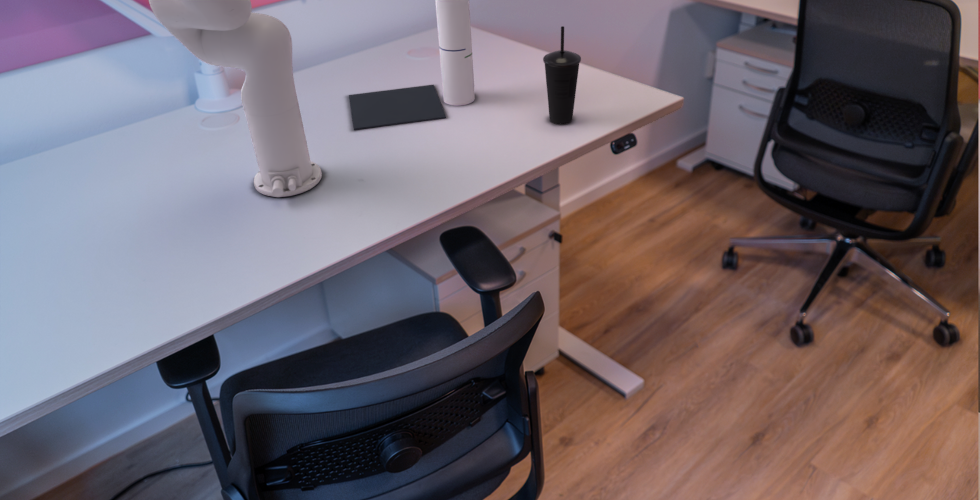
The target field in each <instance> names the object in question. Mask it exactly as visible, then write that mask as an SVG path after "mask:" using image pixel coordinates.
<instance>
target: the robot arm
mask: <svg viewBox="0 0 980 500" xmlns="http://www.w3.org/2000/svg"><path fill="white" fill-rule="evenodd" d="M148 3H149V6H150V9H151V11H152V13H153V15H154V16H155V18H156V19H157V21H158V22H159V23H160V24H161V25H162V26H163V27H164V28H165V29H166V30H167V31H168V32H169V33H170V34H171V35H172V36H173V37H174V38H175V39H176V40H177V41H178V42H179V43H181V45H182V46H183V47H184V48H185V49H186V50H188V52H190V53H191V54H192V55H193V56H194V57H195V58H196V59H198V60H200V61H201V62H202V63H205V64H207V65H210V66H213V67H219V68H227V69H235V70H239V71H242V72H244V74H245V77H244V81H243V84H242V86H241V89H240V100H241V105H242V108H243V109H242V110H243V112H244V116H245V120H246V123H247V127H248V132H249V135H250V139H251V143H252V147H253V150H254V155H255V159H256V162H257V166H258V170H259V171H258V172H257V173H256V174H255V175H254V177H253V185H254V188H255V190H256V191H257V192H258V193H260V194H262V195H264V196H268V197H273V198H282V197H285V198H286V197H292V196H295V195H299V194H303V193H305V192H307V191H309V190H311V189H313V188H314V187H315V186H317V185H318V184H319V182H321V179H322V177H323V173H322V169H321V166H320V165H319V164H318V163H316V162H314V161H312V160H311V156H310V152H309V147H308V143H307V142H308V141H307V138H306V133H305V127H304V123H303V117H302V113H301V109H300V103H299V99H298V95H297V89H296V84H295V77H294V67H293V40H292V34H291V32H290V30H289V28H288V27H287V25H286V24H284V22H283V21H281V20H280V19H279V18H277V17H275V16H272V15H269V14H265V13H259V12H252V11H253V6H252V1H251V0H148Z"/></svg>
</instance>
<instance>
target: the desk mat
mask: <svg viewBox="0 0 980 500" xmlns="http://www.w3.org/2000/svg"><path fill="white" fill-rule="evenodd" d="M348 99H349V100H348V101H349V106H350V107H349V108H350V114H351V121H352V127H353V131H357V130H359V131H360V130H366V129H373V128H381V127H382V128H383V127H389V126H397V125H404V124H412V123H420V122H427V121H434V120H443V119H447V115H446V112H445V110H444V108H443V105H442V103H441V100H440V97H439V95H438V92H437V89H436V87H435V85H434V84H428V85H420V86H411V87H404V88H396V89H387V90H379V91H378V90H377V91H371V92H363V93H355V94H349V95H348Z"/></svg>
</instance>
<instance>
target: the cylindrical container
mask: <svg viewBox="0 0 980 500" xmlns="http://www.w3.org/2000/svg"><path fill="white" fill-rule="evenodd" d="M434 1H435V2H434V3H435V15H436V26H437V37H438V38H437V39H438V49H439V61H440V73H441V75H440V76H441V85H442V98H443V102H444V103H445V104H447V105H449V106H454V107H455V106H466V105H470V104H471V103H473V102H475V99H476V94H475V78H474V58H473V43H472V42H473V41H472V40H473V39H472V23H471V9H470V8H471V6H470V0H434Z"/></svg>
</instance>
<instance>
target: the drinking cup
mask: <svg viewBox="0 0 980 500" xmlns="http://www.w3.org/2000/svg"><path fill="white" fill-rule="evenodd" d="M581 61H582V57H581V55H580V54H579V53H576V52H572V51H570V50H565V26H564V25H563V26H560V49H559V50H554V51H552V52H549V53H546V54H545V55H543V58H542V62H543V63H544V73H545V83H546V93H547V105H548V106H547V107H548V119H549V121H550V123H552V124H555V125H559V126H560V125H561V126H562V125H568V124H570V123H571V122H573V117H574V111H575V101H576V94H577V93H576V92H577V86H578V78H579V69H580V63H581Z"/></svg>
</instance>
